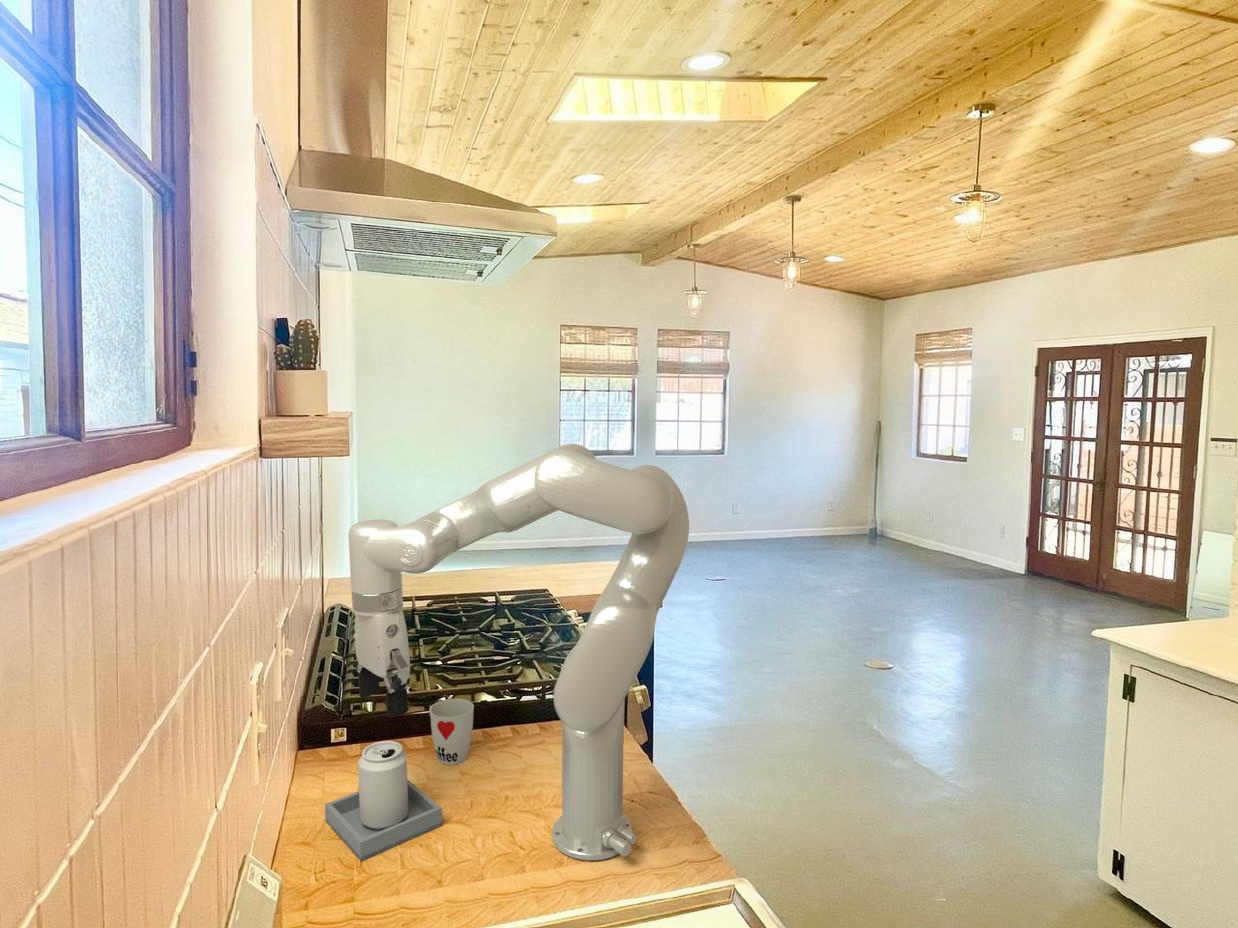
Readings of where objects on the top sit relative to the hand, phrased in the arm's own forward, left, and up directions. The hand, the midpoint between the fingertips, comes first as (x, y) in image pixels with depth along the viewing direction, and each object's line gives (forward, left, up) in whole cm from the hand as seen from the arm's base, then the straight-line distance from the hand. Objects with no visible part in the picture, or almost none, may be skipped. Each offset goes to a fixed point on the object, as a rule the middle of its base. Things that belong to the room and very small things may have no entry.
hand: (383, 704), depth 119 cm
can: (+1, 0, -20) cm, 20 cm away
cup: (+11, -19, -20) cm, 30 cm away
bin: (0, 0, -20) cm, 20 cm away
